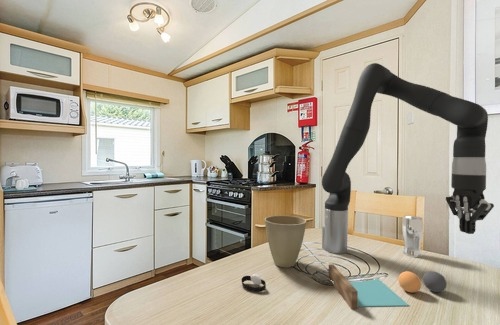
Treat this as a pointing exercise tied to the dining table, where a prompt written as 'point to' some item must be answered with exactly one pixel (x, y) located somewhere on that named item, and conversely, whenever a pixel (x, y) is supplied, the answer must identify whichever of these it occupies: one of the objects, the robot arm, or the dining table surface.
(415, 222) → the beer glass
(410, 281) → the terracotta ball
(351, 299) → the walnut stopper
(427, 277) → the charcoal ball
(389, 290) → the teal mark
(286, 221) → the plant pot
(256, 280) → the watch
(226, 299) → the dining table surface
